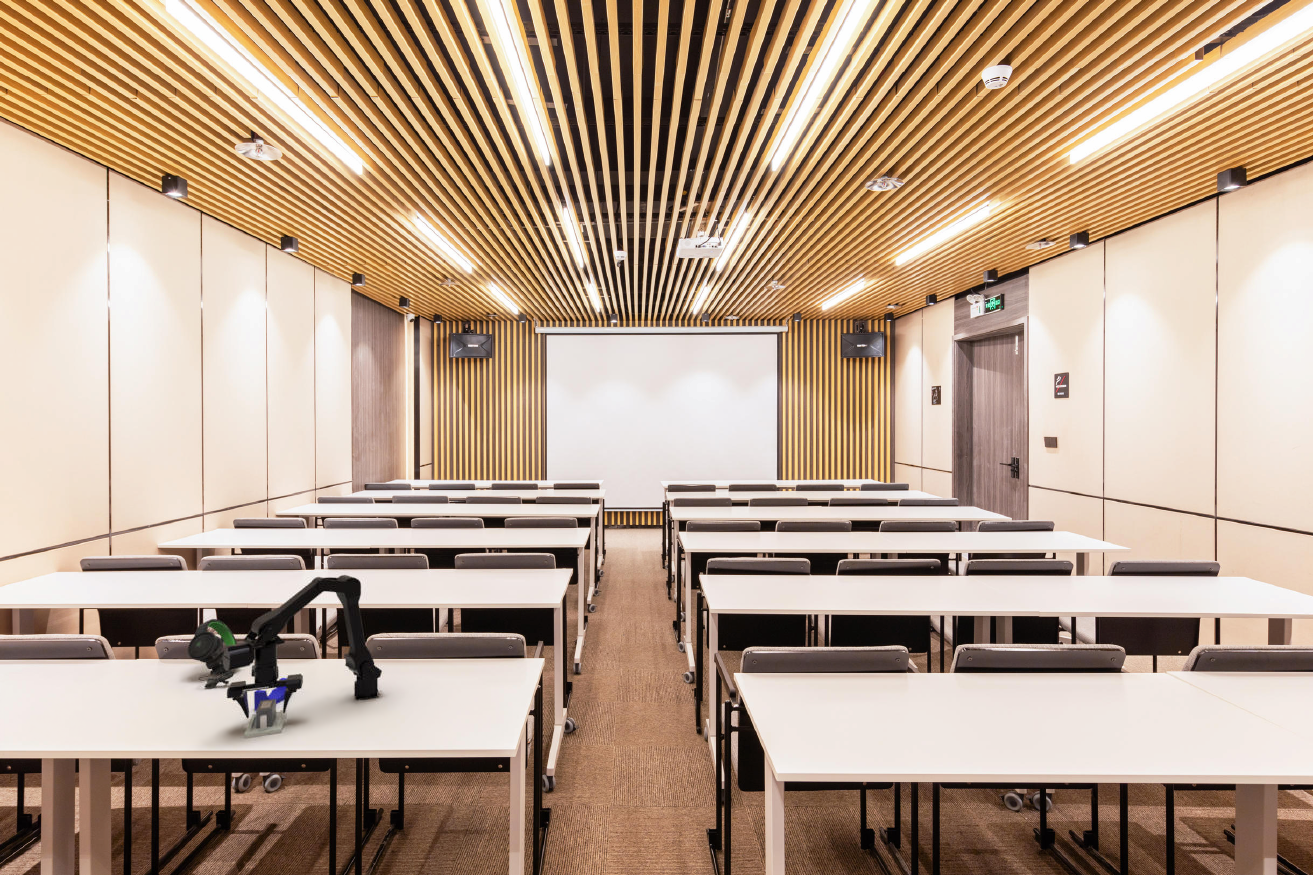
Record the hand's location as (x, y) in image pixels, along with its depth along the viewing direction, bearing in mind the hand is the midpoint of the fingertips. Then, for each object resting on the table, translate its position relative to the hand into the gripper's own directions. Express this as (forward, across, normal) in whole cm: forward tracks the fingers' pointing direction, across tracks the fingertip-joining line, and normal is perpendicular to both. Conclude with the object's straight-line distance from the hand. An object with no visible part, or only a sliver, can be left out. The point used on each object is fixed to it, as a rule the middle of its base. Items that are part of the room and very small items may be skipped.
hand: (266, 715), depth 200 cm
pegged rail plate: (+3, 0, 0) cm, 3 cm away
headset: (+3, +20, -52) cm, 56 cm away
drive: (+2, 0, 0) cm, 2 cm away
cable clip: (+3, +1, -18) cm, 18 cm away
